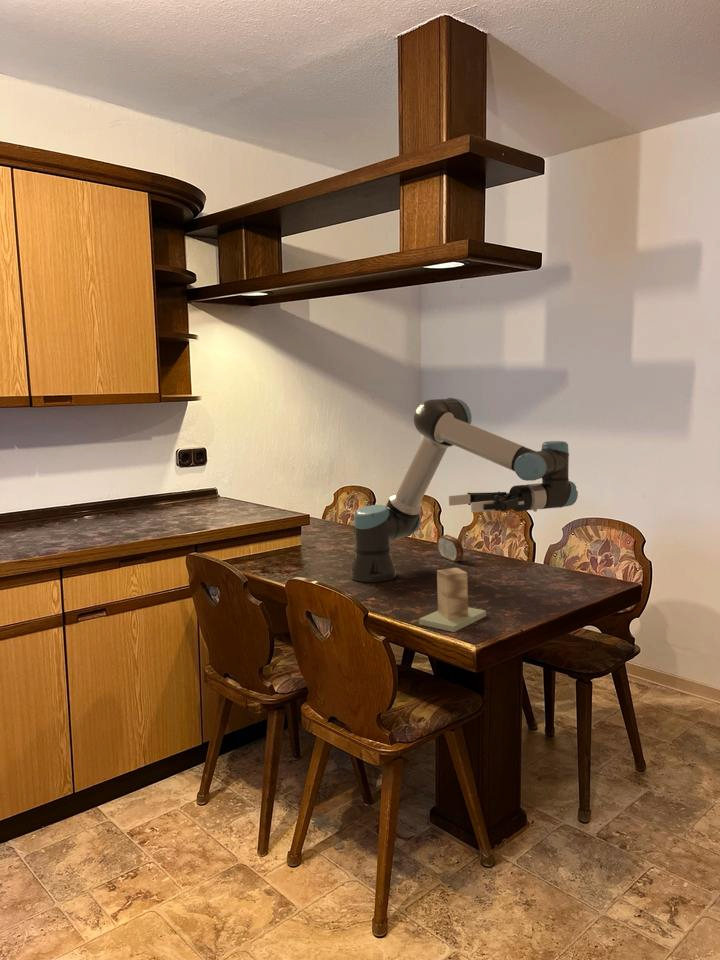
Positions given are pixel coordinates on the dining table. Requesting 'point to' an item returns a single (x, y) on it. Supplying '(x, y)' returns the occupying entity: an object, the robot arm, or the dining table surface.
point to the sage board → (451, 620)
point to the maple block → (452, 593)
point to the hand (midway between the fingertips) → (460, 504)
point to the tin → (450, 548)
